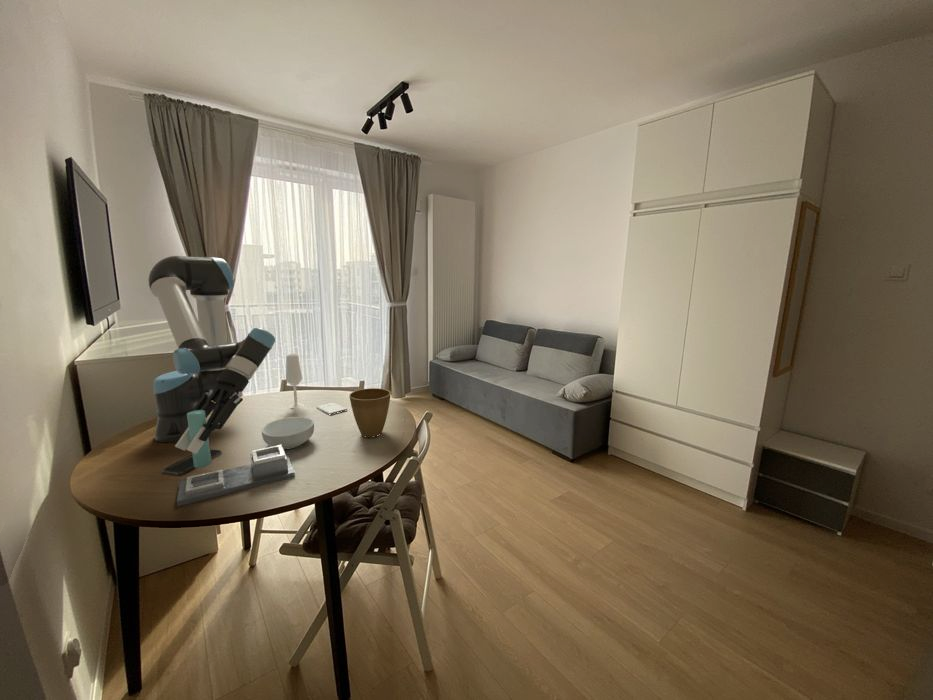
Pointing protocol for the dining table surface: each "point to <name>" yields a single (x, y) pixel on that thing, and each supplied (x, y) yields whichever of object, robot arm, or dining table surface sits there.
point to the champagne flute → (293, 375)
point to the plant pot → (370, 410)
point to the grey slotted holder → (237, 476)
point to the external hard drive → (331, 408)
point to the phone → (187, 464)
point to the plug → (195, 424)
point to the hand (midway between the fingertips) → (185, 449)
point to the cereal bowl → (288, 432)
